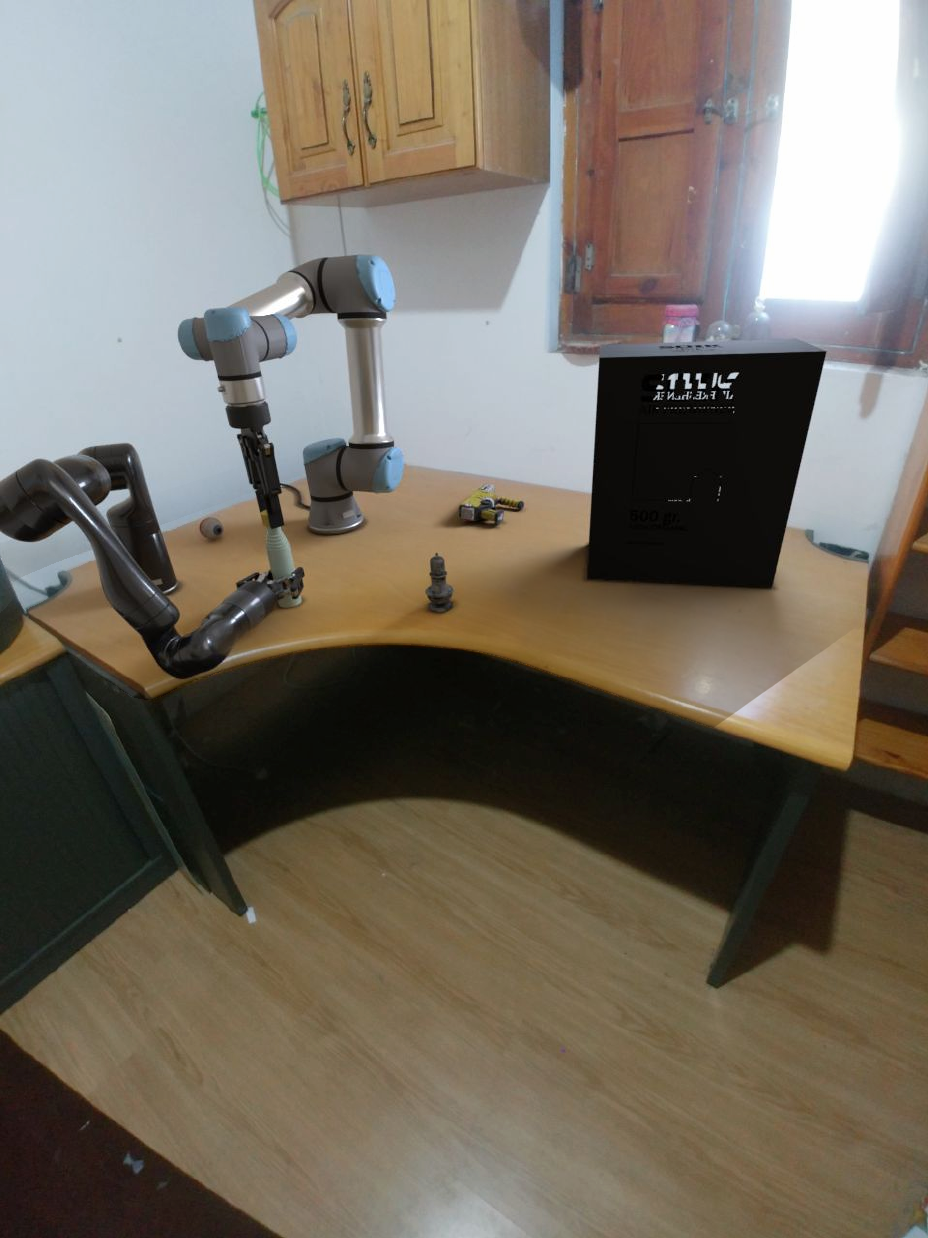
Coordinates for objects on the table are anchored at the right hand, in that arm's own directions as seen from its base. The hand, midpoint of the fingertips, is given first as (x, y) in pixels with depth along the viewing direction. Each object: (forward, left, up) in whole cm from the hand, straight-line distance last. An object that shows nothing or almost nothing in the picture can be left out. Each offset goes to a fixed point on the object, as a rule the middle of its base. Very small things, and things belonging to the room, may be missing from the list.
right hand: (273, 523), depth 121 cm
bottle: (0, 0, -18) cm, 18 cm away
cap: (0, 0, +2) cm, 2 cm away
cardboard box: (+43, +74, -18) cm, 88 cm away
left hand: (-2, +2, -12) cm, 12 cm away
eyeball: (-49, -2, -18) cm, 53 cm away
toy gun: (-12, +67, -18) cm, 71 cm away
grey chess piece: (+24, +23, -18) cm, 38 cm away
